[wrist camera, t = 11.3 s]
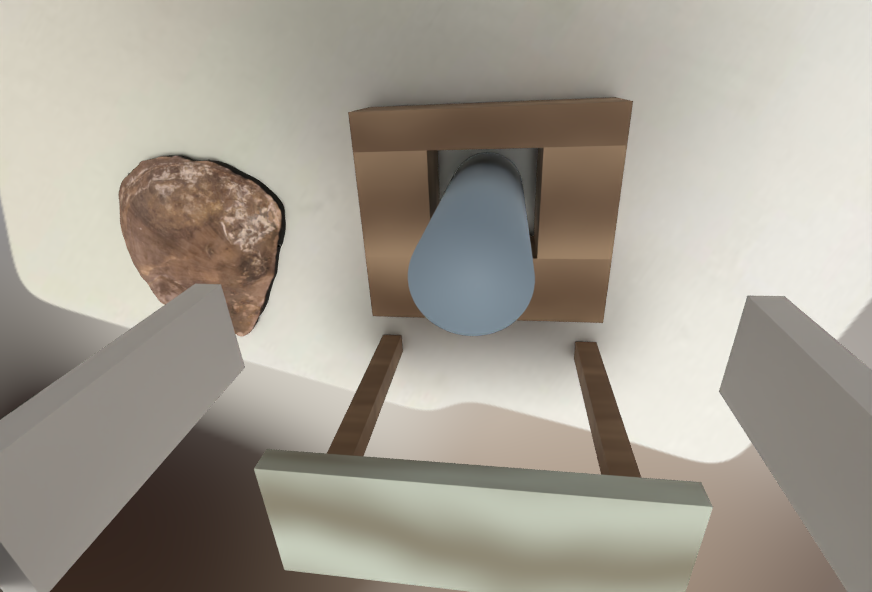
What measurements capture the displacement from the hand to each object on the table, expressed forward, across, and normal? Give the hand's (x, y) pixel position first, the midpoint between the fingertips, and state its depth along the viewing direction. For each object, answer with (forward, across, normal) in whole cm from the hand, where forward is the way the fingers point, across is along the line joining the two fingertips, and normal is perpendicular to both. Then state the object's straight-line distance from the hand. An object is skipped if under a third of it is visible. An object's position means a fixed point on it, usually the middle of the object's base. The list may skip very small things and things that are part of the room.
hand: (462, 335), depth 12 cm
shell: (+19, -20, -4) cm, 28 cm away
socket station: (+18, 0, -4) cm, 19 cm away
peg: (+18, 0, -1) cm, 18 cm away
